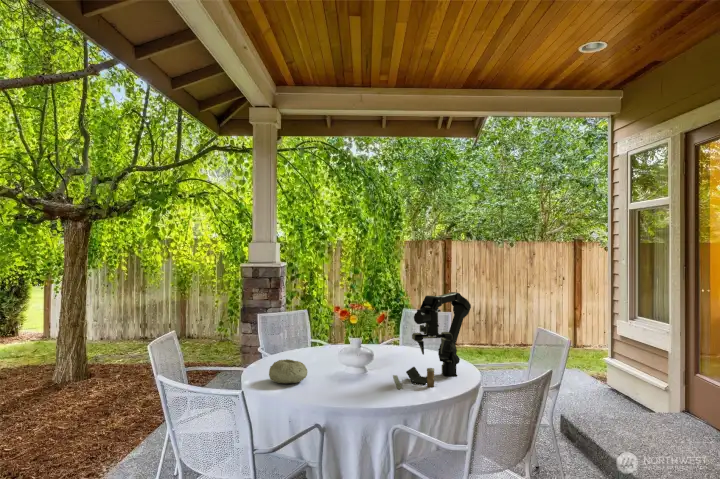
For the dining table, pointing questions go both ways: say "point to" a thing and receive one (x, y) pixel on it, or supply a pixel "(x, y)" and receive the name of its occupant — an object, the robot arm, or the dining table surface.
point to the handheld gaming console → (416, 377)
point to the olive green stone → (287, 371)
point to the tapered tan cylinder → (430, 377)
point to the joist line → (397, 382)
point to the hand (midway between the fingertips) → (432, 354)
